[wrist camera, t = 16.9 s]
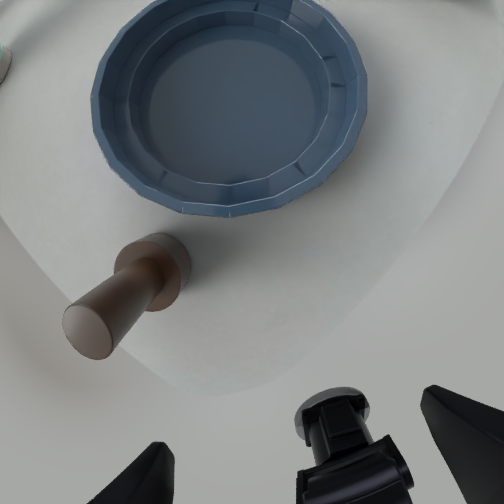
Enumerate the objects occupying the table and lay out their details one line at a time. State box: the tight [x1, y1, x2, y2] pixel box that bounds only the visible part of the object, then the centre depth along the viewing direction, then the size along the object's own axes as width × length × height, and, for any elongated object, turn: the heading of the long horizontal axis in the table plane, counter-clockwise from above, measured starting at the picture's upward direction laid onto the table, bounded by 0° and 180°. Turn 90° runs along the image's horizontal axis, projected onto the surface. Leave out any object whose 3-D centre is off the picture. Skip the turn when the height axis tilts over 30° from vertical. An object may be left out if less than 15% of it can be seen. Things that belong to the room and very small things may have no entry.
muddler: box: [63, 233, 191, 360], centre depth 13 cm, size 4×4×10 cm
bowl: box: [90, 0, 367, 218], centre depth 14 cm, size 15×15×4 cm
